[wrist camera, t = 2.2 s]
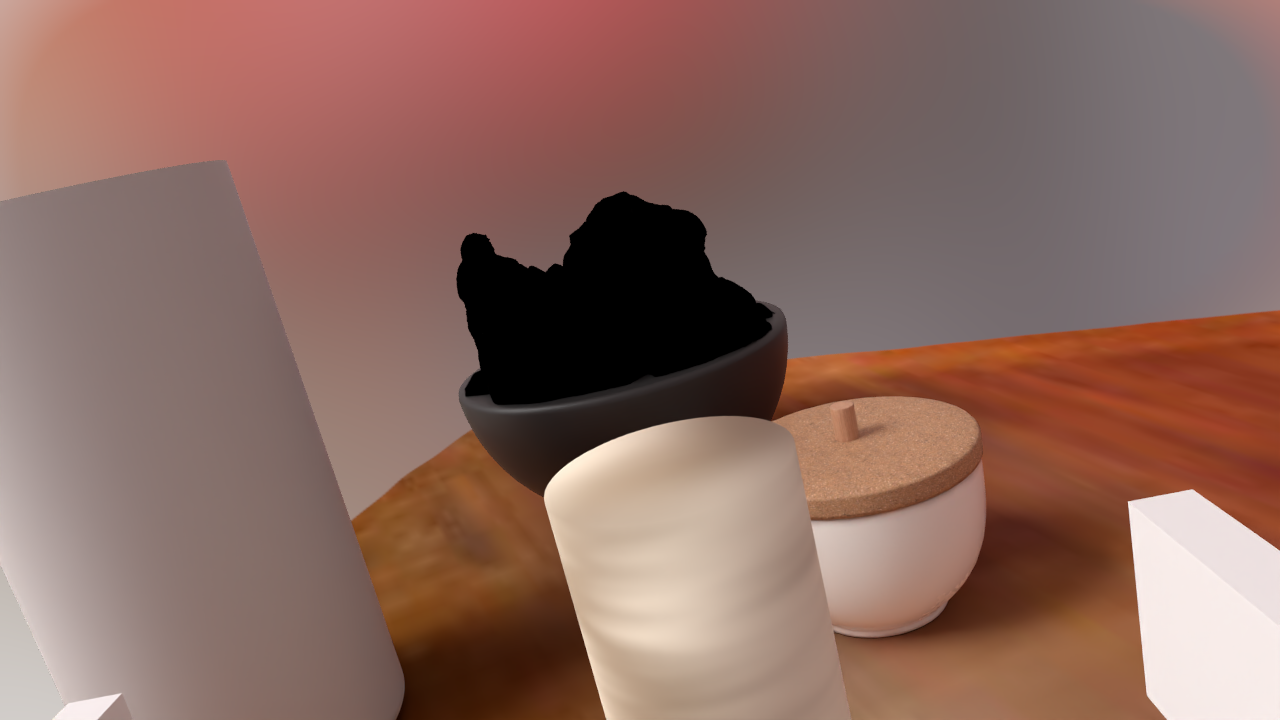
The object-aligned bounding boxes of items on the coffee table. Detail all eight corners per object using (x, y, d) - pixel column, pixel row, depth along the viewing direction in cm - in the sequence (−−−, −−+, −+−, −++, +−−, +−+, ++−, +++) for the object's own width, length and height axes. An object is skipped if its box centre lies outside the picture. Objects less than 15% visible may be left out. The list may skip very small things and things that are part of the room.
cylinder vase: (68, 900, 35) (-243, 259, 28) (178, 707, 47) (-24, 226, 41) (395, 799, 36) (164, 161, 30) (420, 636, 48) (260, 159, 42)
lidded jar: (922, 519, 47) (892, 347, 45) (1060, 615, 37) (1031, 399, 35) (729, 585, 46) (687, 410, 43) (818, 705, 35) (771, 484, 33)
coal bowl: (822, 417, 64) (769, 150, 60) (809, 561, 46) (731, 189, 41) (558, 455, 70) (491, 212, 65) (450, 597, 51) (346, 272, 47)
